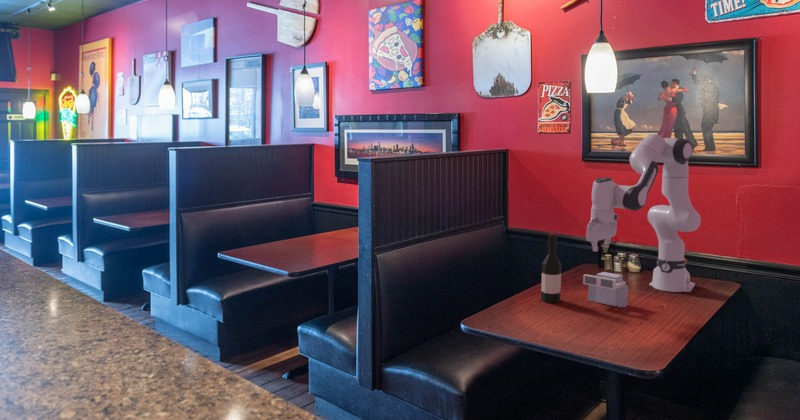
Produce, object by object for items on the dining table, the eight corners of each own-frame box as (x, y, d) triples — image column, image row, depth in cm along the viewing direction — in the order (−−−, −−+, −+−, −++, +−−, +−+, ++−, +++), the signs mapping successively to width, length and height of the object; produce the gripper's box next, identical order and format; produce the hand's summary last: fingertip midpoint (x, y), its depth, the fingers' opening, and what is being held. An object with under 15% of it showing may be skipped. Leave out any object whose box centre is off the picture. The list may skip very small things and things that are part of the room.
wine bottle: (558, 298, 272) (560, 232, 268) (561, 303, 264) (563, 235, 260) (539, 297, 273) (541, 231, 269) (542, 302, 265) (544, 235, 261)
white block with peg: (594, 297, 272) (595, 270, 270) (629, 304, 261) (630, 276, 259) (580, 303, 263) (581, 275, 261) (615, 311, 252) (616, 282, 250)
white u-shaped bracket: (594, 279, 268) (595, 270, 268) (625, 285, 259) (625, 275, 258) (583, 283, 261) (583, 274, 260) (614, 289, 251) (614, 280, 251)
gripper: (597, 220, 243) (596, 254, 245) (620, 215, 257) (618, 247, 259) (582, 218, 248) (581, 252, 249) (606, 213, 262) (604, 245, 264)
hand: (600, 249), depth 254 cm, fingers open, 8 cm apart
